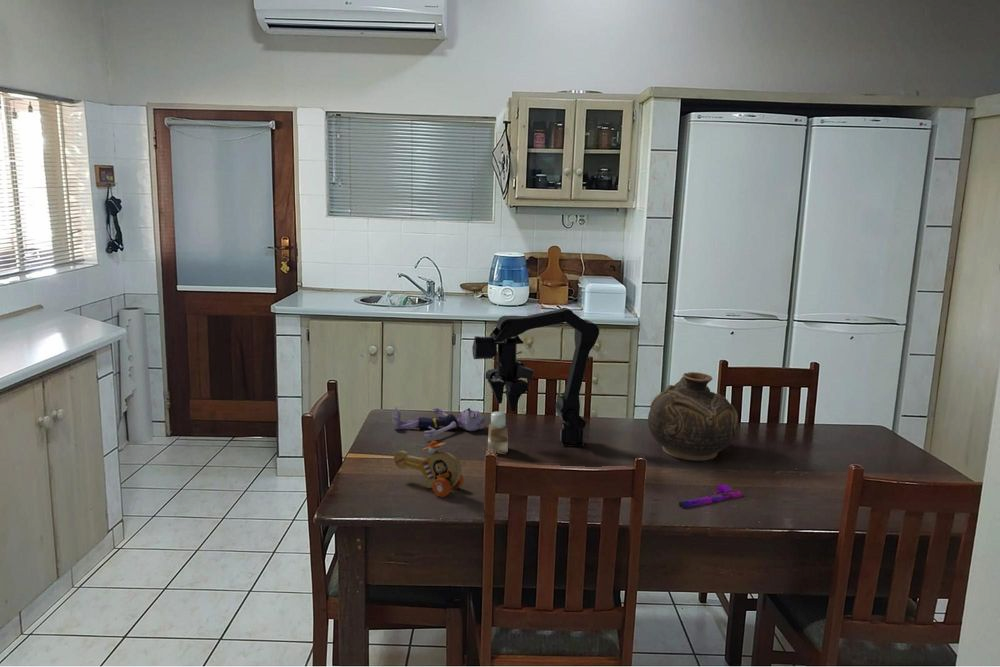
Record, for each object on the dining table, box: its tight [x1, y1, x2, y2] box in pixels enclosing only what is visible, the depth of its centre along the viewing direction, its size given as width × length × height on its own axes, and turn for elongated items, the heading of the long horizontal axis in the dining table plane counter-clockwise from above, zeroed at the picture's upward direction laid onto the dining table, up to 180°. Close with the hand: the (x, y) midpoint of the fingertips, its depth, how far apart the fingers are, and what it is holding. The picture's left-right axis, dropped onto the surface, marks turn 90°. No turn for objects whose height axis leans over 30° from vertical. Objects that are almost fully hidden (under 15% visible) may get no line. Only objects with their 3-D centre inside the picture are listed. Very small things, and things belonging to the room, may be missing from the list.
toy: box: [391, 406, 487, 439], centre depth 248 cm, size 26×9×30 cm
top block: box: [487, 423, 509, 442], centre depth 228 cm, size 5×5×4 cm
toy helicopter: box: [393, 440, 464, 498], centre depth 200 cm, size 8×21×14 cm, turn 61°
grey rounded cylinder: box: [490, 411, 506, 429], centre depth 228 cm, size 4×4×4 cm
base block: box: [487, 435, 509, 453], centre depth 229 cm, size 6×6×4 cm
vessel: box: [647, 371, 740, 462], centre depth 231 cm, size 27×28×25 cm
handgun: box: [678, 483, 743, 509], centre depth 199 cm, size 21×8×2 cm, turn 117°
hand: (506, 407), depth 231 cm, fingers open, 9 cm apart
